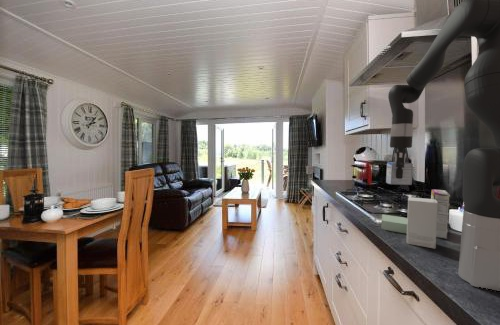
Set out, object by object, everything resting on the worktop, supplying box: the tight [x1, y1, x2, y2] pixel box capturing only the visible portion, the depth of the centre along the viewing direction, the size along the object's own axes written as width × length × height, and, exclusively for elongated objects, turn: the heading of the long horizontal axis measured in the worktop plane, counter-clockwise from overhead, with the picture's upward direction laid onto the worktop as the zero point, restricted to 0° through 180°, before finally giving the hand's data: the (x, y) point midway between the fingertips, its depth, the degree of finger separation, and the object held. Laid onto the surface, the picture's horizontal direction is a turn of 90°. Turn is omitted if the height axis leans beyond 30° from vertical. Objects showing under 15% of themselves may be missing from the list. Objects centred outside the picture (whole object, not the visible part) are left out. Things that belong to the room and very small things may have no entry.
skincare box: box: [406, 196, 438, 250], centre depth 82 cm, size 8×7×16 cm
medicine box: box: [385, 161, 414, 186], centre depth 96 cm, size 8×4×9 cm, turn 83°
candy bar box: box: [430, 189, 451, 240], centre depth 92 cm, size 11×5×16 cm, turn 147°
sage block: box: [380, 213, 407, 235], centre depth 98 cm, size 10×10×4 cm
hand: (398, 177), depth 96 cm, fingers closed on medicine box, 5 cm apart
